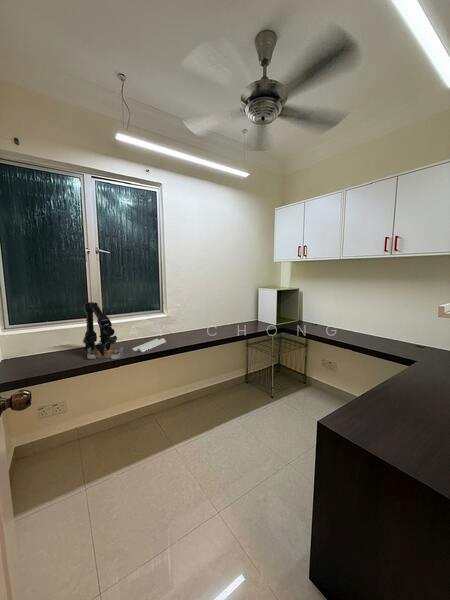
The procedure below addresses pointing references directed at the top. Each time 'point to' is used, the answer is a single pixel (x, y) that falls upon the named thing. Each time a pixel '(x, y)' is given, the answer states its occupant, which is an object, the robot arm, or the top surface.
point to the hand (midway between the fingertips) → (105, 353)
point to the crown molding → (149, 345)
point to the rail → (105, 353)
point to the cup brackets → (113, 356)
